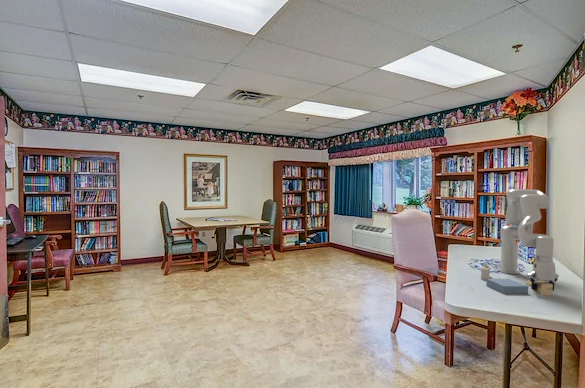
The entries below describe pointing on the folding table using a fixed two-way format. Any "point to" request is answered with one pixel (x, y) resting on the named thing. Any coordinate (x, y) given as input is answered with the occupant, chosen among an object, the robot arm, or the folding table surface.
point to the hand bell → (529, 280)
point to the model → (485, 272)
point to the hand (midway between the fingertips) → (542, 289)
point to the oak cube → (544, 288)
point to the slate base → (507, 286)
